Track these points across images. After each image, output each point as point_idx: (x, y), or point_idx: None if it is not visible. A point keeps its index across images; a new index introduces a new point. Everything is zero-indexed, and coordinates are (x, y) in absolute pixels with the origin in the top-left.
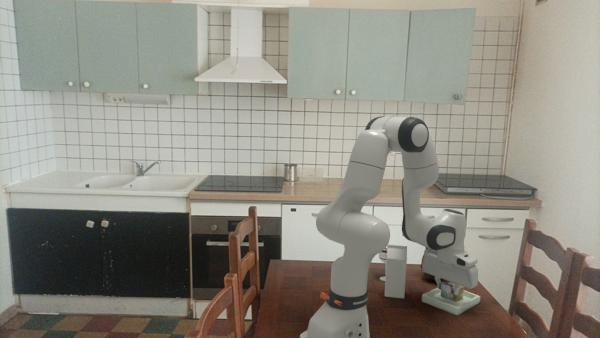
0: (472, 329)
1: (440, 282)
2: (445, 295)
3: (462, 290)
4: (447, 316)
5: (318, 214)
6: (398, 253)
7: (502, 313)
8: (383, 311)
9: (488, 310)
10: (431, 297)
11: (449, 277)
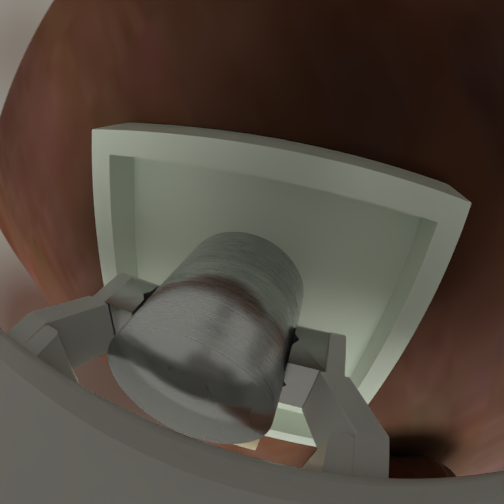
0: (39, 53)
1: (310, 412)
2: (218, 246)
3: None
4: (168, 57)
5: None
6: None
7: (54, 303)
8: None
9: None
10: (372, 190)
11: (31, 428)
